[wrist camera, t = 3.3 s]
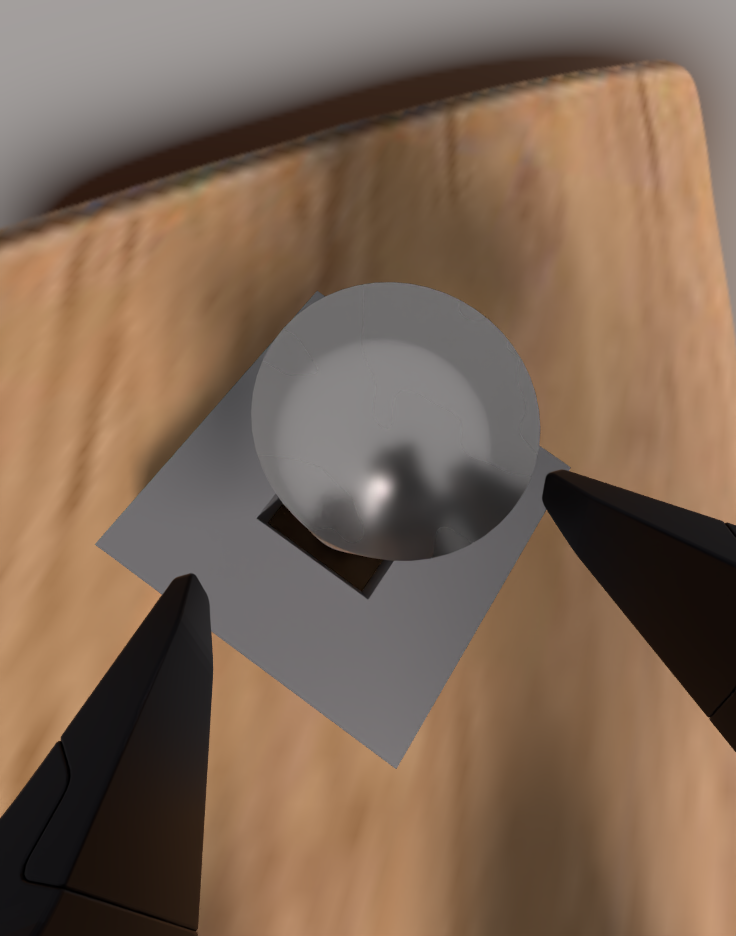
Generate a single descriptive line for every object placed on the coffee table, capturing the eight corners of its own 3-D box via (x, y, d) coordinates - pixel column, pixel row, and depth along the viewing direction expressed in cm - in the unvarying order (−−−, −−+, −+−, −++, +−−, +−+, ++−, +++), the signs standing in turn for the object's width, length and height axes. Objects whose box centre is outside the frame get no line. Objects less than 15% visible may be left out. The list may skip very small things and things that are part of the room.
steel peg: (404, 500, 19) (588, 386, 6) (358, 568, 18) (443, 626, 5) (339, 454, 19) (366, 234, 6) (290, 519, 19) (186, 439, 5)
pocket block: (535, 479, 20) (570, 467, 17) (384, 731, 17) (396, 769, 14) (318, 327, 21) (317, 290, 18) (133, 545, 18) (94, 544, 15)
